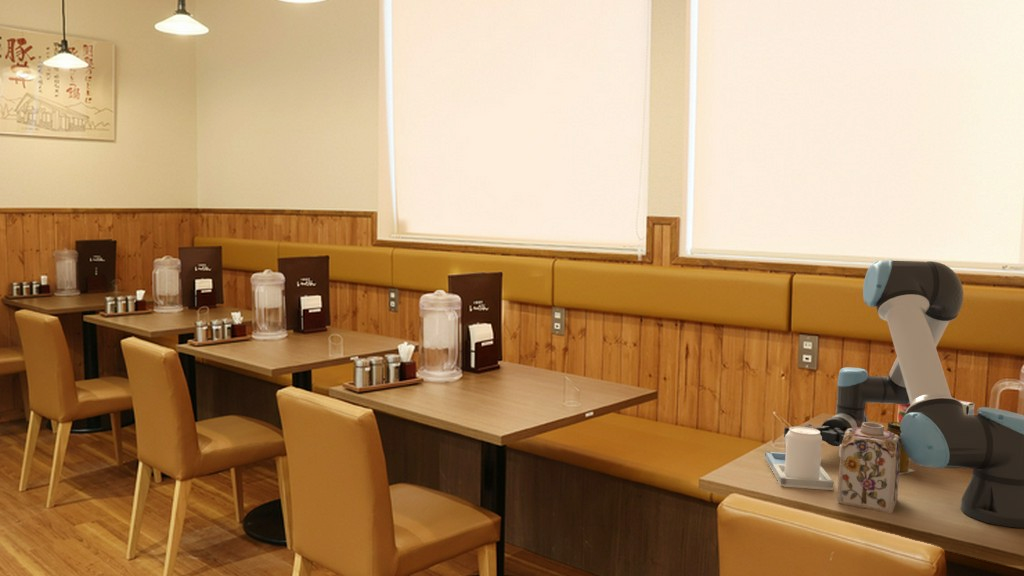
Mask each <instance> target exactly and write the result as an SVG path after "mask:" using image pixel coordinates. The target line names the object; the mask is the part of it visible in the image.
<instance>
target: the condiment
mask: <svg viewBox="0 0 1024 576" xmlns="http://www.w3.org/2000/svg"><path fill="white" fill-rule="evenodd" d="M900 425H901V423H900V422H897V421H892V422H888V423H887V428H886V431H890V432H892V433H894V434H896V435H898V436H899V438H900V440H901V436H900V434H901V433H902V432H901V430H900ZM909 465H910V458H909V457H908V455H907V454H906V452H905V450H904V448H903V445H902V442H901V448H900V469H899V476H900V475H903V474H909V473H912V472H915V471H916V470H915V469H911V468H909Z"/></svg>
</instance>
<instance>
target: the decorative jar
mask: <svg viewBox="0 0 1024 576" xmlns="http://www.w3.org/2000/svg"><path fill="white" fill-rule="evenodd" d="M884 429H885V426H884V425H883V424H881V423H877V422H872V421H871V422H869V421H868V422H863V423H862V426H861V427H859V428H849V429H847V430H846V431H845V435H844V438H843V441H842V444H841V456H839V468H838V469H839V471H838V482H837V483H838V484H837V494H836V495H837V497H836V499H837V500H836V501H837V503H838V504H840V505H844V506H849V507H850V506H851V507H857V508H861V509H865V510H870V511H871V510H872V511H876V512H881V513H887V514H893V511H894V509H895V507H896V504H897V501H898V495H899V481H900V475H899V469H900V448H901V440H900V438H899V436H898V435H896V434H894V433H892V432H890V431H887V429H886V430H884Z"/></svg>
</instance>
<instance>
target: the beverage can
mask: <svg viewBox="0 0 1024 576" xmlns="http://www.w3.org/2000/svg"><path fill="white" fill-rule="evenodd" d="M790 427H791V428H790V429H789V431H788V433H787V441H786V445H785V453H786V457H785V475H786V476H787V477H792V478H806V479H819V477H820V465H821V459H822V447H823V446H822V445H823V444H822V443H823V441H822V436H821V435H820V431H819V430H817V429H813V428H814V427H812V428H808V427H797V426H790Z"/></svg>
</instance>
